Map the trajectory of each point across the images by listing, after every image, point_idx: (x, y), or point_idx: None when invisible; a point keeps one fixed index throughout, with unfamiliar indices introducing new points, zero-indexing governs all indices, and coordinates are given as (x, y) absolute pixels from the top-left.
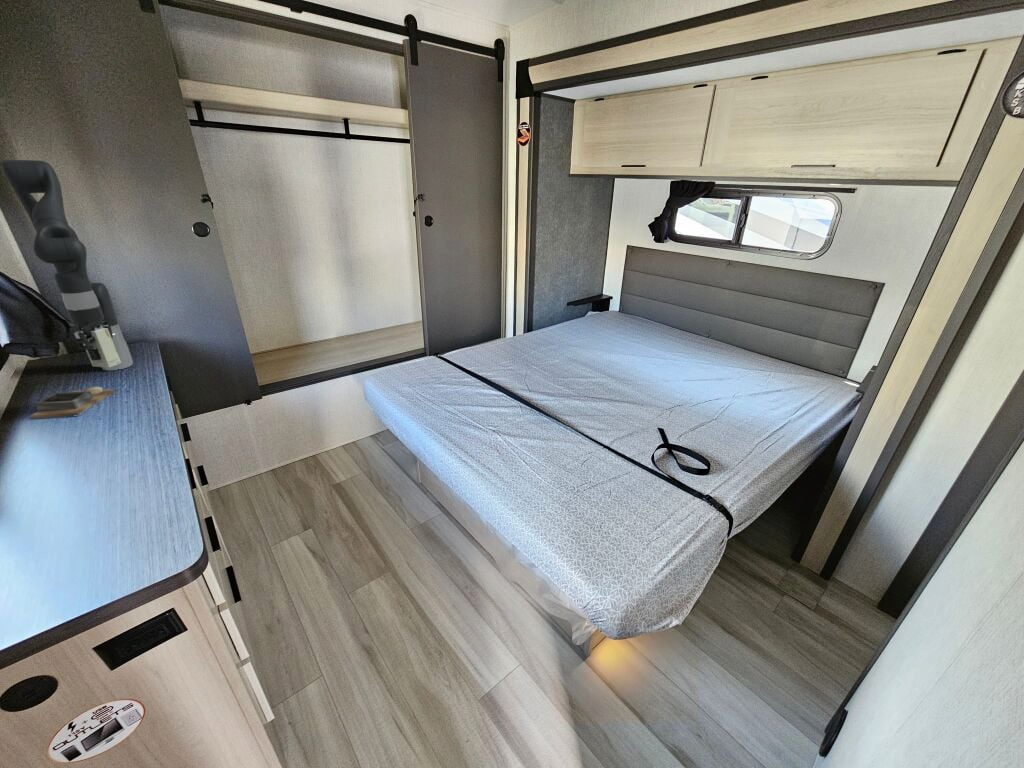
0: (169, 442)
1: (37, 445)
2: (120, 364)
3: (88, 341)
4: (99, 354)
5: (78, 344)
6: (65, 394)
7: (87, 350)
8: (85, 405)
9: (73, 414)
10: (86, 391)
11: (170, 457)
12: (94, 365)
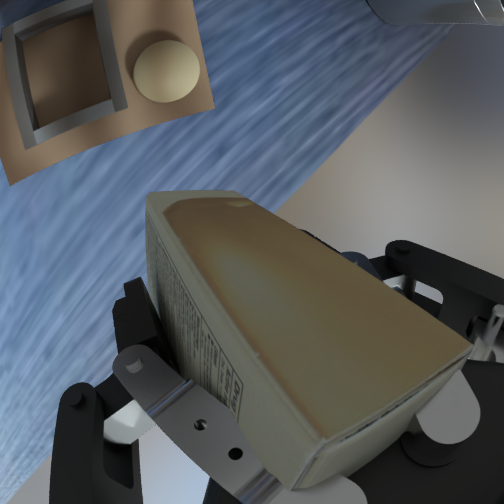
0: (44, 453)
1: None
2: (386, 11)
3: (141, 494)
4: (167, 342)
5: (58, 458)
6: (97, 31)
7: (170, 264)
8: (62, 148)
9: (7, 172)
10: (150, 64)
11: (27, 471)
12: (147, 215)
